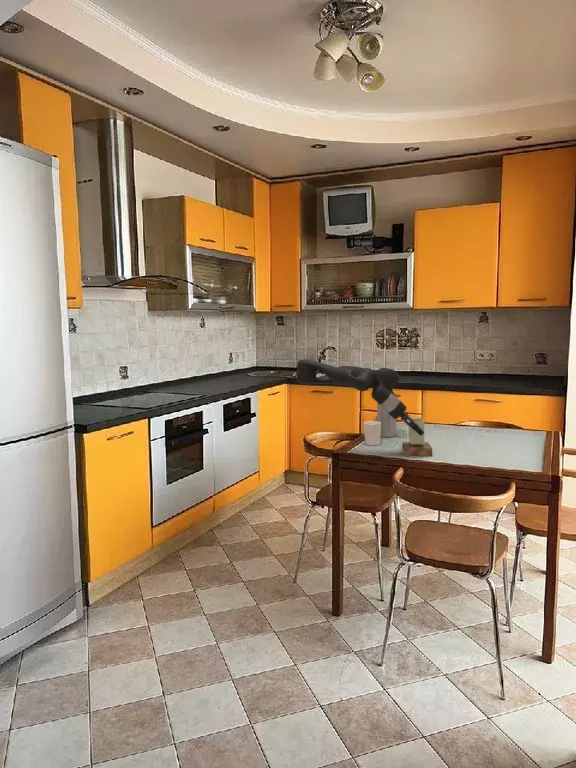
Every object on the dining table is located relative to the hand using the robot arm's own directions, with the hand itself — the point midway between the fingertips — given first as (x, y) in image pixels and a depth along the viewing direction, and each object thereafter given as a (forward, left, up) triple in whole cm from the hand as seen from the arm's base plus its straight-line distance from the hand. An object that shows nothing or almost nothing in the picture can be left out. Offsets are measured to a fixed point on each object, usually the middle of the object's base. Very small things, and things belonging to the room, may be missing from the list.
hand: (420, 432), depth 244 cm
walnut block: (-1, -1, -9) cm, 10 cm away
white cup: (-26, +2, -9) cm, 28 cm away
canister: (-1, -1, -4) cm, 5 cm away
